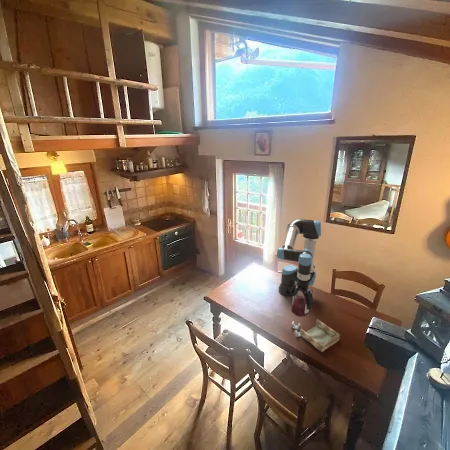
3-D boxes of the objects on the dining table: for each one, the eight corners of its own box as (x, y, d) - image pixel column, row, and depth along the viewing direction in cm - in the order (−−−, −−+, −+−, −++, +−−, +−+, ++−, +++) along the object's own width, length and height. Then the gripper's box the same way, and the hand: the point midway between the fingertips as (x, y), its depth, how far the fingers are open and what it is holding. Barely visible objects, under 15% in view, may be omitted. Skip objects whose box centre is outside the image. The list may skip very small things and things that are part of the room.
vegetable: (304, 322, 157) (308, 307, 148) (288, 314, 161) (291, 300, 153) (309, 310, 164) (313, 295, 155) (294, 303, 168) (297, 288, 160)
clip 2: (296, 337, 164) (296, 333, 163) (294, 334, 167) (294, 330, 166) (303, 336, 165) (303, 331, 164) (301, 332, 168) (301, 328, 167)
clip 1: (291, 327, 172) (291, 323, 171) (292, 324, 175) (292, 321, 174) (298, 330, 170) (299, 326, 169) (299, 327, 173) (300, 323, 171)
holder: (300, 334, 166) (300, 329, 164) (316, 324, 175) (317, 319, 173) (322, 352, 152) (322, 346, 151) (339, 340, 161) (340, 334, 160)
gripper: (285, 272, 160) (283, 301, 168) (314, 288, 143) (310, 320, 150) (293, 269, 164) (291, 297, 171) (322, 284, 146) (318, 315, 154)
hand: (300, 308), depth 161 cm, fingers closed on vegetable, 9 cm apart
